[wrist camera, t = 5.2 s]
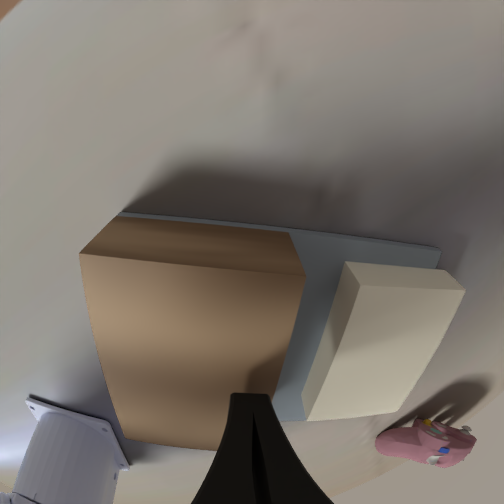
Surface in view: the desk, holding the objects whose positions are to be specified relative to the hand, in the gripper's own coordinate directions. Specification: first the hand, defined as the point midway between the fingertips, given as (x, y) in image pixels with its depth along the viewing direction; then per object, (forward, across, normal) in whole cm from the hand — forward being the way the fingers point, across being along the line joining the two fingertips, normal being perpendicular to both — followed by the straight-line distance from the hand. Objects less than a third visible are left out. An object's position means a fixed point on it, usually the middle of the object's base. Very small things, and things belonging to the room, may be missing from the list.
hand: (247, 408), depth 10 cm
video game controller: (+5, -18, +12) cm, 22 cm away
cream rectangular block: (+2, -7, 0) cm, 7 cm away
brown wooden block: (+5, +2, 0) cm, 5 cm away
